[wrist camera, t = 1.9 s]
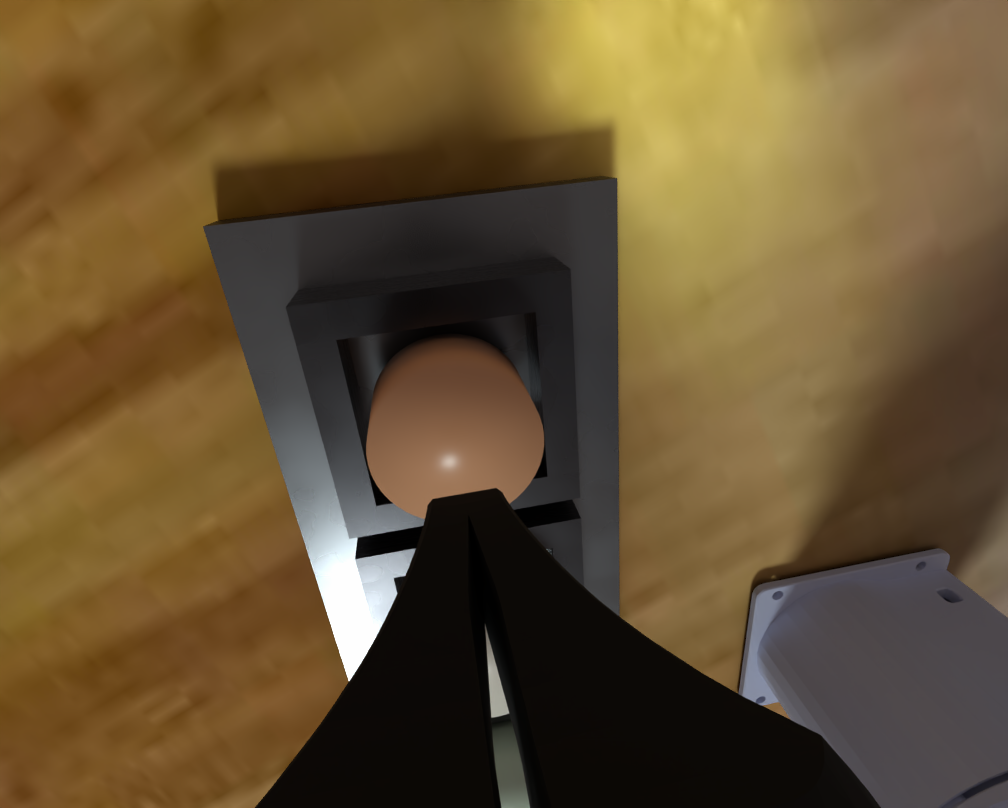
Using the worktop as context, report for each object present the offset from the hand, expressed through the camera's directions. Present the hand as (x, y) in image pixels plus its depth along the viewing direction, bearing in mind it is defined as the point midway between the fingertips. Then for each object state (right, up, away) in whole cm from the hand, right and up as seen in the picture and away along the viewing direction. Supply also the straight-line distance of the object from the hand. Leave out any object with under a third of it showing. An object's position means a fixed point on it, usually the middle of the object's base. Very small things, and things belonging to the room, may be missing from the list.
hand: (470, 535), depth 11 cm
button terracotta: (-1, +2, +5) cm, 6 cm away
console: (-1, -4, +11) cm, 12 cm away
